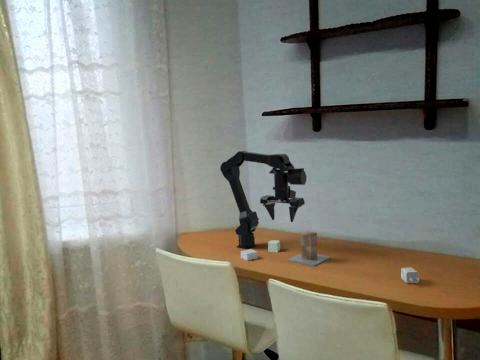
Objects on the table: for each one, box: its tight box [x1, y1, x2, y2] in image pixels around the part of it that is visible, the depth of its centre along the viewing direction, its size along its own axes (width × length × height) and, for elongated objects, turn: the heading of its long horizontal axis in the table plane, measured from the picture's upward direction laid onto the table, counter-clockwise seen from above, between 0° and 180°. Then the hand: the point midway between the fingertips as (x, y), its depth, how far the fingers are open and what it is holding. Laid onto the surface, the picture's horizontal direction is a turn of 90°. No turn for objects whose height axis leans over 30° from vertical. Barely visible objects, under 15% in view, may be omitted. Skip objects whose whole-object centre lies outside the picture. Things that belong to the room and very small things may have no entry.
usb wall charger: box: [400, 267, 420, 284], centre depth 143 cm, size 4×7×4 cm, turn 2°
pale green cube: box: [267, 239, 281, 253], centre depth 187 cm, size 4×4×4 cm
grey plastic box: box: [240, 248, 259, 262], centre depth 178 cm, size 5×5×3 cm
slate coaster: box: [287, 253, 332, 267], centre depth 172 cm, size 12×12×1 cm
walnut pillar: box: [300, 231, 318, 260], centre depth 171 cm, size 4×4×10 cm
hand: (282, 221), depth 184 cm, fingers open, 9 cm apart
